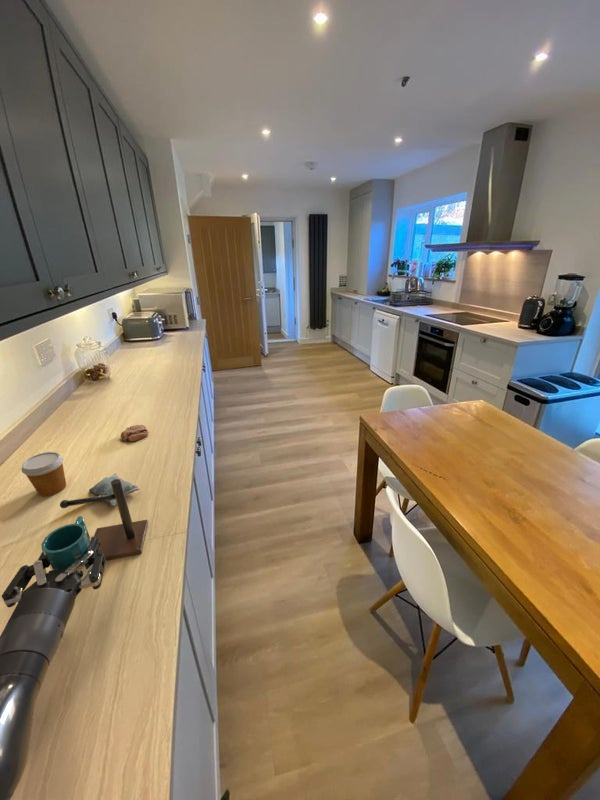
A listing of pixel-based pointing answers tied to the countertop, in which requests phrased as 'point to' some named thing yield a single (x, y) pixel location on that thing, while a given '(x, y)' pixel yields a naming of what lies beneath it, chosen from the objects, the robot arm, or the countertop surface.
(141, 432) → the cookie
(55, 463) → the disposable coffee cup
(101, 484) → the grey bean bag
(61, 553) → the mug
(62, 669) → the countertop surface
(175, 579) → the countertop surface
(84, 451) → the countertop surface
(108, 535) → the mug stand
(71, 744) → the countertop surface
